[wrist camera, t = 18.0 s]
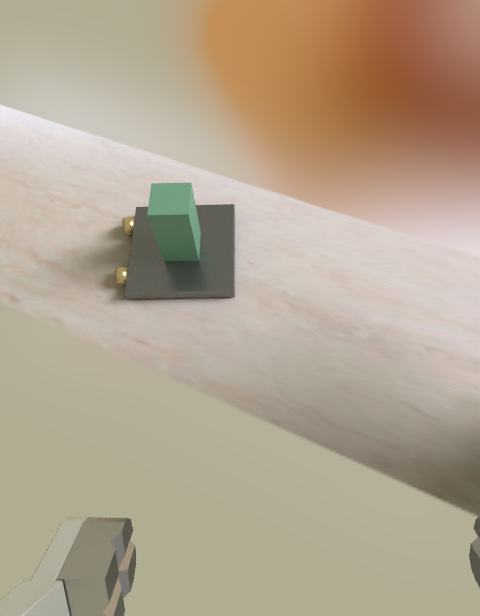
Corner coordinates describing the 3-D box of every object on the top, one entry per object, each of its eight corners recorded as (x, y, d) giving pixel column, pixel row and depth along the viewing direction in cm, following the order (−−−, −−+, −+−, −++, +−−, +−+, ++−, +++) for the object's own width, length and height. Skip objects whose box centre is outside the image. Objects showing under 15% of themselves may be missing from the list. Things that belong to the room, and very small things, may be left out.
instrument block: (200, 227, 49) (191, 178, 42) (198, 260, 47) (188, 214, 40) (167, 228, 49) (152, 179, 42) (163, 260, 47) (147, 215, 40)
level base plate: (234, 204, 52) (233, 193, 50) (234, 297, 46) (233, 288, 44) (131, 207, 53) (126, 196, 51) (117, 299, 47) (112, 290, 45)
